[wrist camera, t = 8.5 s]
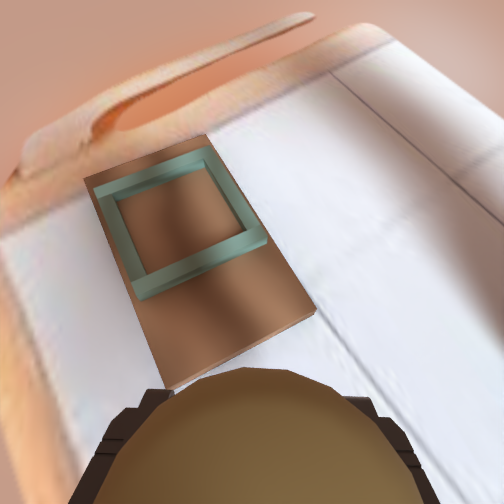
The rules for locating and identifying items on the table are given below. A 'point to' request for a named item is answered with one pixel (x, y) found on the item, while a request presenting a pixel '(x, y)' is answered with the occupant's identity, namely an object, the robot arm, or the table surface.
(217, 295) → the holder plate
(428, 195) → the table surface
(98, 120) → the table surface
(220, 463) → the cork
